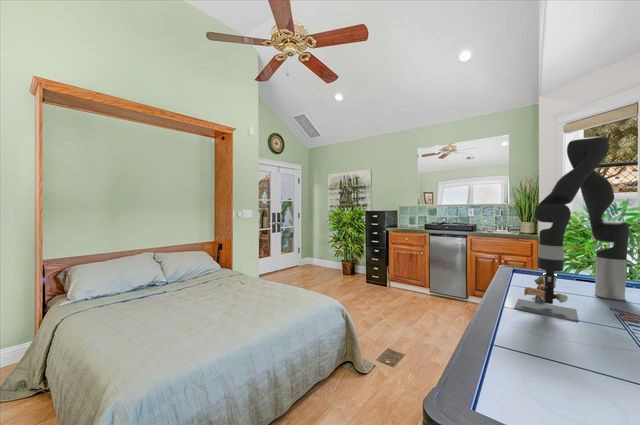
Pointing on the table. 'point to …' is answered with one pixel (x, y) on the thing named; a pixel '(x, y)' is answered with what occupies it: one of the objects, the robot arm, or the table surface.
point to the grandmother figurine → (542, 294)
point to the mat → (547, 309)
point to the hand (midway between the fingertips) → (549, 300)
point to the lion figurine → (540, 287)
